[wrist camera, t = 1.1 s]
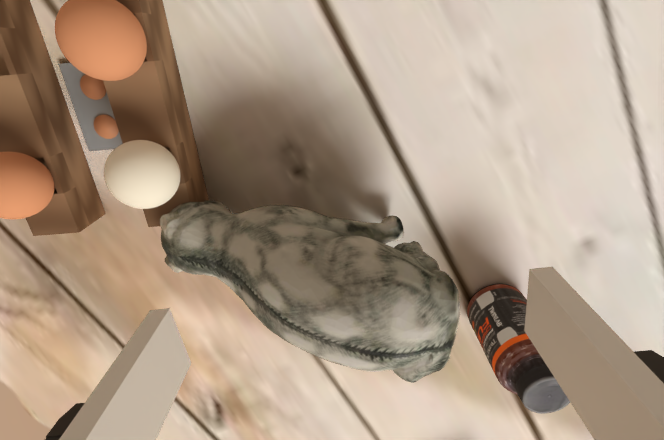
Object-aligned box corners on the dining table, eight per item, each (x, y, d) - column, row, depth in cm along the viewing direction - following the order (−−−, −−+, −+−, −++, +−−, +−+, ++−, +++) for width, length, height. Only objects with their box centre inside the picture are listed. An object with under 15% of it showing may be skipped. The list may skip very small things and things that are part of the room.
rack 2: (99, -32, 28) (64, -44, 24) (153, -38, 28) (125, -51, 24) (167, 208, 36) (148, 226, 32) (210, 205, 35) (195, 223, 32)
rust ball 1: (-7, 147, 30) (-69, 165, 25) (55, 142, 30) (3, 158, 25) (20, 206, 32) (-33, 232, 27) (78, 202, 32) (34, 227, 27)
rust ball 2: (75, 2, 26) (19, -8, 21) (148, -5, 26) (106, -17, 21) (100, 81, 28) (53, 87, 23) (167, 75, 28) (134, 79, 23)
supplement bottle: (460, 289, 39) (505, 376, 29) (520, 275, 38) (588, 358, 28) (469, 334, 41) (514, 429, 31) (526, 321, 40) (591, 414, 30)
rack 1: (-31, -18, 28) (-85, -27, 25) (21, -23, 28) (-26, -34, 25) (64, 217, 36) (33, 235, 32) (105, 213, 36) (79, 232, 32)
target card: (62, 63, 31) (57, 64, 30) (115, 58, 30) (111, 58, 30) (91, 149, 33) (88, 151, 33) (140, 145, 33) (137, 147, 33)
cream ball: (117, 136, 29) (77, 152, 25) (181, 130, 29) (152, 145, 25) (136, 197, 31) (102, 222, 27) (196, 192, 31) (172, 216, 27)
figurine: (386, 148, 36) (155, 147, 30) (502, 303, 22) (121, 357, 17) (365, 226, 42) (169, 238, 36) (448, 387, 28) (152, 449, 22)
